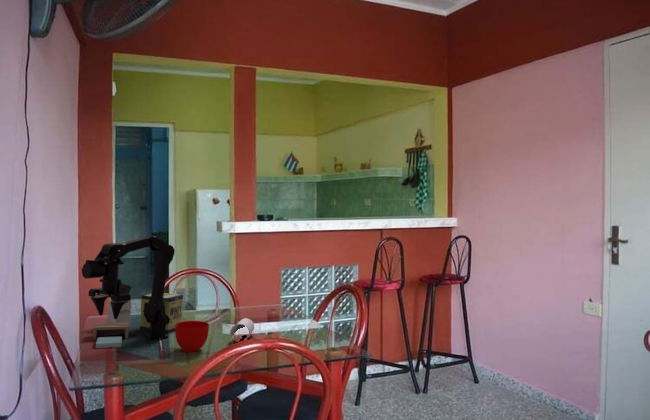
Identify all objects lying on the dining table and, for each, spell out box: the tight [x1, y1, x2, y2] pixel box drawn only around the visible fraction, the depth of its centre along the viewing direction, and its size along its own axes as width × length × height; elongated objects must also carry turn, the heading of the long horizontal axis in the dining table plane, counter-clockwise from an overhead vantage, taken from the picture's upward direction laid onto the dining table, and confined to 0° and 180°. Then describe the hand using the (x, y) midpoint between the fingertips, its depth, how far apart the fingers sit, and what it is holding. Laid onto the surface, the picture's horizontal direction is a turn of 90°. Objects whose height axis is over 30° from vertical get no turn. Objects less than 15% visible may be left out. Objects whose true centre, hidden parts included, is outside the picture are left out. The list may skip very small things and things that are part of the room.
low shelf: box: [92, 322, 130, 341], centre depth 219 cm, size 8×13×5 cm, turn 109°
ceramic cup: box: [174, 320, 210, 353], centre depth 206 cm, size 13×17×10 cm
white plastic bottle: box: [229, 317, 255, 339], centre depth 227 cm, size 8×19×8 cm, turn 176°
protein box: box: [139, 292, 184, 334], centre depth 236 cm, size 10×16×16 cm
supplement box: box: [106, 298, 132, 328], centre depth 236 cm, size 7×7×13 cm
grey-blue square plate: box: [95, 336, 123, 349], centre depth 208 cm, size 10×9×2 cm
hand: (108, 317), depth 200 cm, fingers open, 9 cm apart
